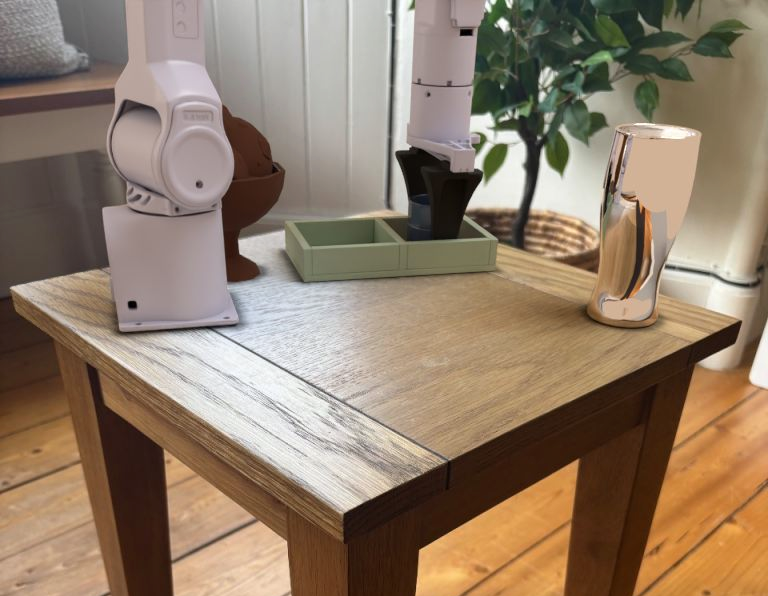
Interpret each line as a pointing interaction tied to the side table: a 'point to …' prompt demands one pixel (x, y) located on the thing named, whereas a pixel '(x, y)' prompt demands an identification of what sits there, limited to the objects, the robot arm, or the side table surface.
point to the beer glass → (641, 218)
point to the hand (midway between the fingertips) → (432, 233)
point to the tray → (382, 249)
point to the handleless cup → (420, 219)
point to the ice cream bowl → (247, 191)
